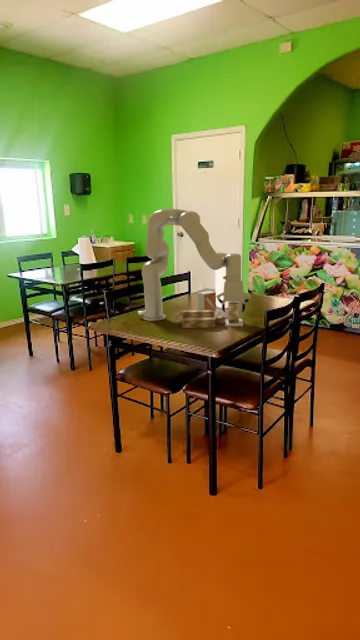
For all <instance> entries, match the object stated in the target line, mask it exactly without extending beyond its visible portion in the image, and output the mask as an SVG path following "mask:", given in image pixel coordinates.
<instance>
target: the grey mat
mask: <svg viewBox="0 0 360 640" xmlns="http://www.w3.org/2000/svg"><path fill="white" fill-rule="evenodd" d="M224 326H225V327H243V326H244V322H243V319H242V318H239V323H229V321H228V318H225V319H224Z"/></svg>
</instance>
